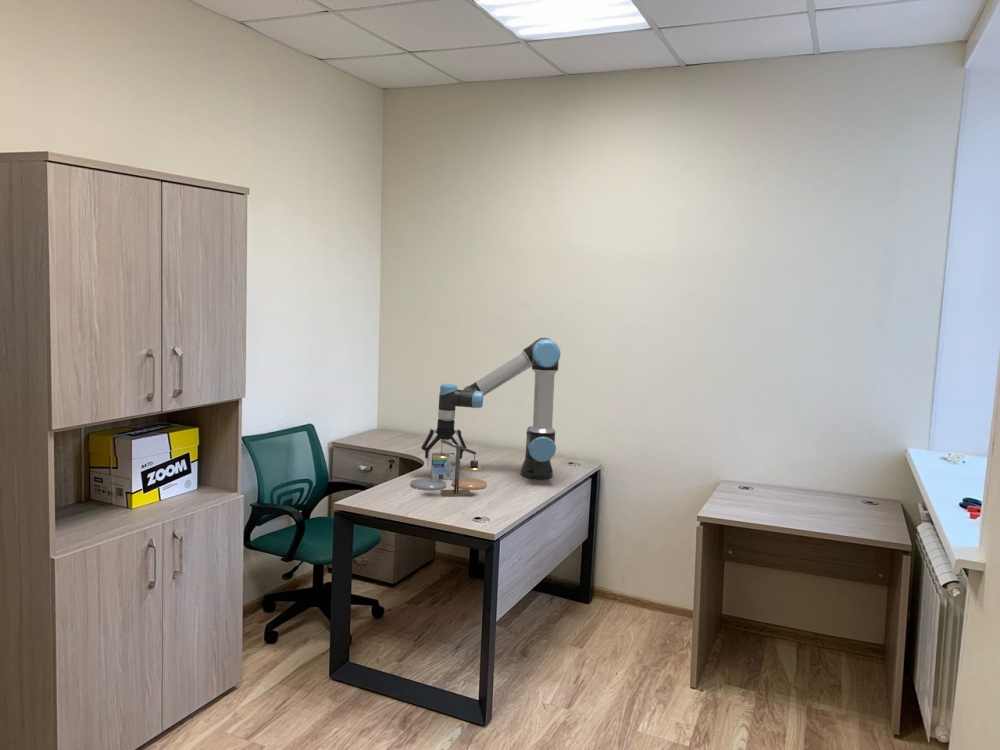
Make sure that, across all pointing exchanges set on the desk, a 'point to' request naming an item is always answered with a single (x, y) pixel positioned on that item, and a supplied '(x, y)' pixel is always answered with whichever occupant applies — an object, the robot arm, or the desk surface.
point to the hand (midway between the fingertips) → (443, 465)
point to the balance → (472, 467)
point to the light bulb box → (443, 467)
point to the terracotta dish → (471, 484)
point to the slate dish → (428, 484)
